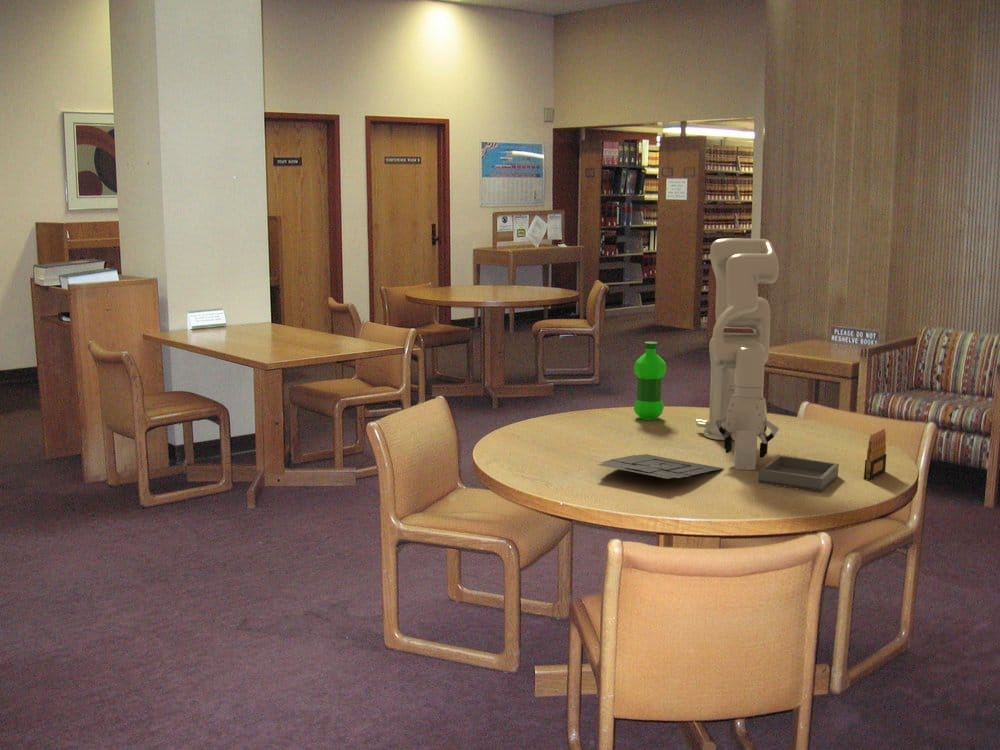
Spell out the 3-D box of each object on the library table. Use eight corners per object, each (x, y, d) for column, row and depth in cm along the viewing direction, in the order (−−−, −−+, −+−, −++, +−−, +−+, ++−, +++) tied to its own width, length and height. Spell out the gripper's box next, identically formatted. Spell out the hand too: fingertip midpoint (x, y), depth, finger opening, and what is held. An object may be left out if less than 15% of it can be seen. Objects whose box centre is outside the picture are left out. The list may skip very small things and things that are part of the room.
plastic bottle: (665, 415, 342) (667, 340, 338) (662, 422, 332) (665, 345, 328) (634, 413, 345) (637, 339, 340) (631, 421, 335) (633, 344, 330)
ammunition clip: (878, 470, 279) (881, 427, 277) (885, 472, 278) (888, 428, 276) (863, 479, 271) (866, 434, 269) (870, 480, 270) (873, 435, 268)
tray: (758, 482, 267) (759, 469, 266) (777, 467, 281) (778, 455, 280) (821, 492, 259) (822, 479, 258) (837, 476, 273) (838, 463, 272)
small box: (755, 471, 278) (757, 432, 276) (734, 469, 279) (736, 431, 277) (754, 463, 285) (756, 426, 283) (733, 462, 286) (735, 424, 285)
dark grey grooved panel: (589, 474, 269) (590, 460, 269) (644, 463, 293) (645, 450, 293) (673, 491, 255) (674, 476, 255) (724, 478, 279) (725, 465, 279)
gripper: (712, 390, 279) (709, 452, 283) (776, 398, 271) (772, 461, 274) (722, 386, 286) (719, 447, 289) (784, 393, 277) (781, 455, 280)
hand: (745, 454), depth 281 cm, fingers open, 9 cm apart
